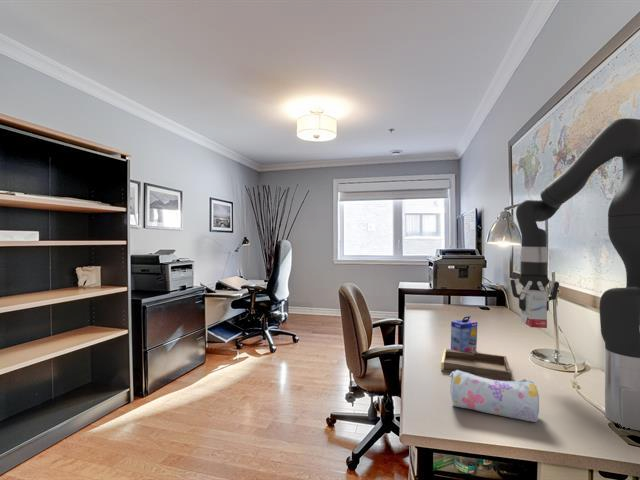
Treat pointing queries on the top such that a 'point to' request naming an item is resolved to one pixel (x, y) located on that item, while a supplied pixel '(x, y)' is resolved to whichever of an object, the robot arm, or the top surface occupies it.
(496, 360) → the wooden tray
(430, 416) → the top surface
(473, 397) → the pencil case
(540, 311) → the ink box
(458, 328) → the ink cartridge box
